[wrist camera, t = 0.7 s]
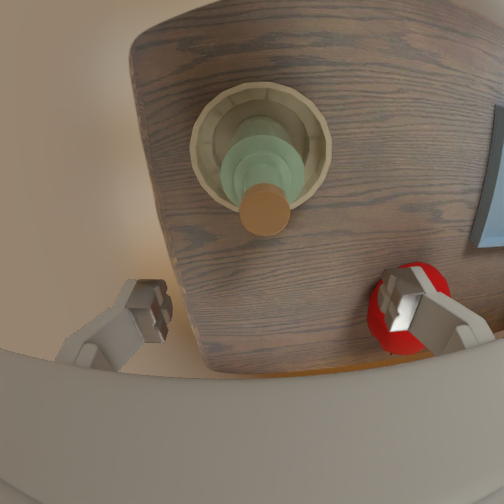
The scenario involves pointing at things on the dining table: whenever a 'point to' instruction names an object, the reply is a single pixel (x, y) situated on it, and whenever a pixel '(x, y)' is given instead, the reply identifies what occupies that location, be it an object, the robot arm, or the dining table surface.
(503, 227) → the tray
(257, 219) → the bottle
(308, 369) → the dining table surface
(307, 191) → the bowl
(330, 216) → the dining table surface
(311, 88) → the dining table surface
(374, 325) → the tomato
